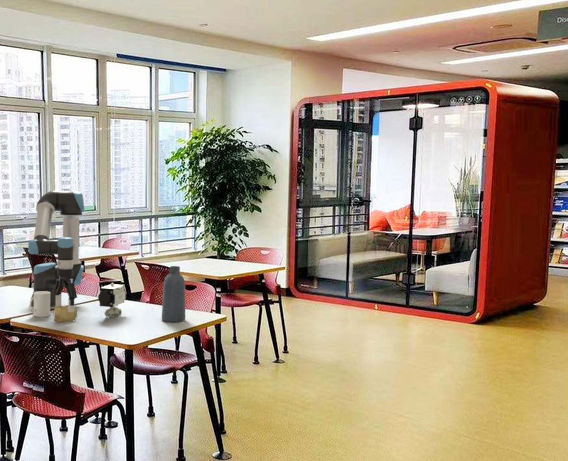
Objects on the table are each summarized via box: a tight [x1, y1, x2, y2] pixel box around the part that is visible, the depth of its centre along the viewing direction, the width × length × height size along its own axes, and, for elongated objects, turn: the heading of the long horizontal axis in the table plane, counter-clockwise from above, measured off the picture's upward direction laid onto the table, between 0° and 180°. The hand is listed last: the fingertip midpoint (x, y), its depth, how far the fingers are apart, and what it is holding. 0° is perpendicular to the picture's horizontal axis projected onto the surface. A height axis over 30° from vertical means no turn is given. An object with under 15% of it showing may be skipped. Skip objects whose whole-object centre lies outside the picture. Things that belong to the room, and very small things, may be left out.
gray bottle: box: [161, 265, 186, 323], centre depth 322 cm, size 12×12×28 cm
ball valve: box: [97, 282, 127, 319], centre depth 326 cm, size 18×8×18 cm, turn 168°
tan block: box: [53, 305, 78, 323], centre depth 313 cm, size 6×10×7 cm, turn 136°
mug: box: [29, 291, 51, 318], centre depth 321 cm, size 12×8×12 cm
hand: (64, 309), depth 312 cm, fingers open, 13 cm apart
